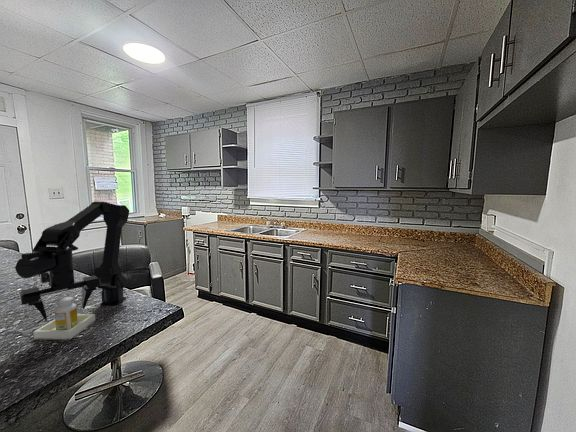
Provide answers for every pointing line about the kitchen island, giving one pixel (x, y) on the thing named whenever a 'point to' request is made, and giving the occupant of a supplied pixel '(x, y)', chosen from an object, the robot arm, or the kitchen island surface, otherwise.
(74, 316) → the supplement bottle
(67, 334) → the tray
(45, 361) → the kitchen island surface
